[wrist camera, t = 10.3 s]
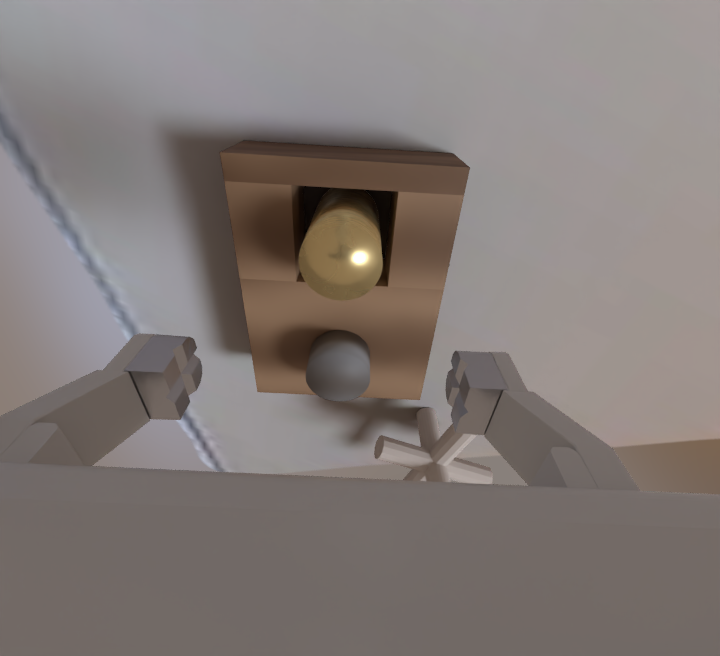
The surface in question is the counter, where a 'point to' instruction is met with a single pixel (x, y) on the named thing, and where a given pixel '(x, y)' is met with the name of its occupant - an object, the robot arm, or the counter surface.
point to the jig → (333, 317)
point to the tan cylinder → (343, 245)
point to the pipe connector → (433, 454)
